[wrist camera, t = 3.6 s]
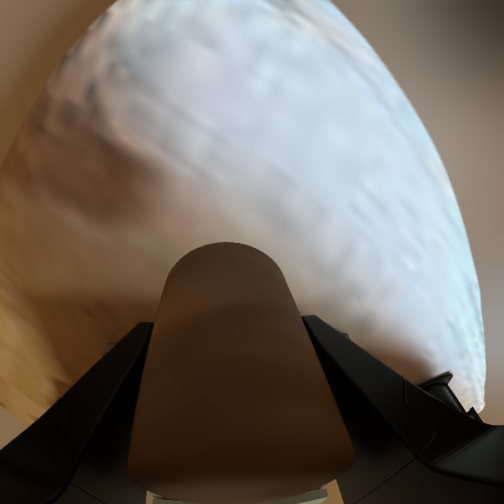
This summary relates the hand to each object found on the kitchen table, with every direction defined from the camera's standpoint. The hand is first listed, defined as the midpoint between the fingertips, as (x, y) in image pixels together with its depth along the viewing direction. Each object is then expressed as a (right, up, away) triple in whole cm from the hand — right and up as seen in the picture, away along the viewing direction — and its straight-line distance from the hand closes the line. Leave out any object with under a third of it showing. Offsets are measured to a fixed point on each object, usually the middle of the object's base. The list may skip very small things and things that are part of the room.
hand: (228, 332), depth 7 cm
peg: (0, +1, +1) cm, 2 cm away
